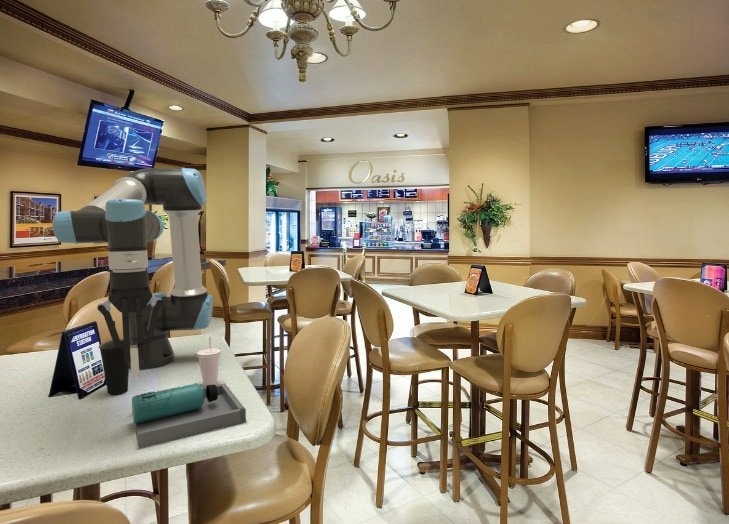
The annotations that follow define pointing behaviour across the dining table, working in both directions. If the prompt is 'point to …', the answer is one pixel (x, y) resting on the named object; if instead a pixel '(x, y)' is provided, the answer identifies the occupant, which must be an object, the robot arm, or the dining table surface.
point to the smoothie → (209, 364)
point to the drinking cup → (114, 368)
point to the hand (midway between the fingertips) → (135, 375)
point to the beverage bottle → (170, 402)
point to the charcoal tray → (194, 419)
